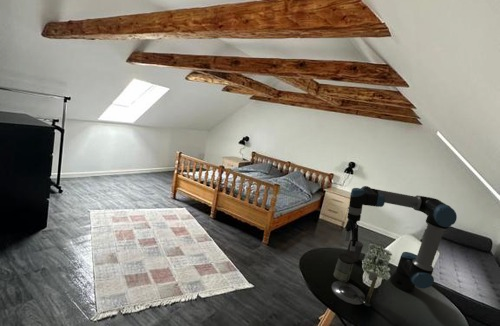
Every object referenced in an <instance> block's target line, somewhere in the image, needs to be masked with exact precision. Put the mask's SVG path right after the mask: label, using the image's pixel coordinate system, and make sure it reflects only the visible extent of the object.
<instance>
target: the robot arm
mask: <svg viewBox="0 0 500 326" xmlns="http://www.w3.org/2000/svg"><path fill="white" fill-rule="evenodd" d="M385 204H389V205H395V206H400V207H405V208H411V209H413V210H415V211H417V212H421V213H423V214H425V215H426V216H427V217H426V219H425V222H426V225H427V226H426V228H425V231H424V235H423V238H422V240H421V244H420V247H419V249H418V252H417V254H415V253H412V252H408V251H403V252H402V253H401V255H400V258H399V261H398V264H397V267H396V269H395V271H394V272H393V273H392V274H391V275H390V278H389V281H390V283H391V284H392V285H393V286H394V287H396V288H398V289H399V290H402V291H404V292H408V293H412V292H414V290H415V287H416V288H419V289H427V288H430V287H432V286H433V285H434V282H435V279H434V276H433V272H434V267H433V263H434V260H435V257H436V254H437V253H438V252H437V251H438V249H439V247H440V244H441V240H442V237H443V234H444V231H447V230H448V229H449V227H452V225H454V224H455V223H456V222H457V219H458V218H457V213H456V211H455V209H454V208H452V207H451V206H450V205H448V204H446V203H445V202H443V201H441V200H440V199H438V198H435V197H429V196H424V195H410V194H409V195H408V194H404V193H403V194H402V193H398V192H393V191H387V190H382V189H381V190H380V189H376V188H371V187H370V186H367V185H363V186H362V187H361V188H359V187H353V188H352V189H351V191H350V197H349V203H348V207H347V209H348V212H347V222H346V224H345V227H344V228H345V236H344V241H345V242H350V240H351V246H350V251H355V247H356V242H358V241H359V224H357V223H358V222H360V221H361V217H362V211H363V206H369V207H376V208H377V207H378V208H382V207H384V206H385ZM350 238H351V239H350Z"/></svg>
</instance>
